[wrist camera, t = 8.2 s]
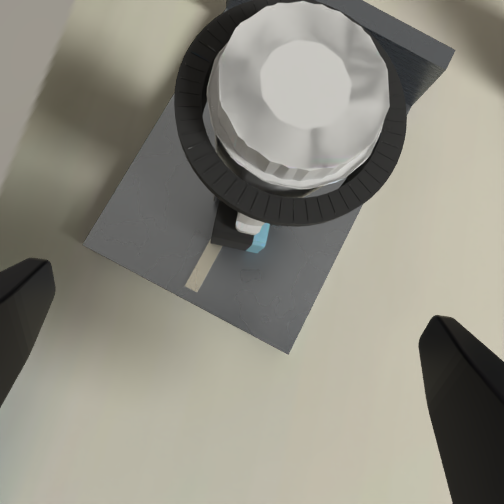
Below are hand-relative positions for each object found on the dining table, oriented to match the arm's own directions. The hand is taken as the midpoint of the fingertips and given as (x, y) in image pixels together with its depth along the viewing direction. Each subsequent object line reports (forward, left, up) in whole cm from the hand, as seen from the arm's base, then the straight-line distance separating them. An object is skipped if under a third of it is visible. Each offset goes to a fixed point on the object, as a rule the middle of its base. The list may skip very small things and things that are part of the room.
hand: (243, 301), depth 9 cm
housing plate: (+6, +2, -9) cm, 11 cm away
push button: (+5, +2, -8) cm, 10 cm away
